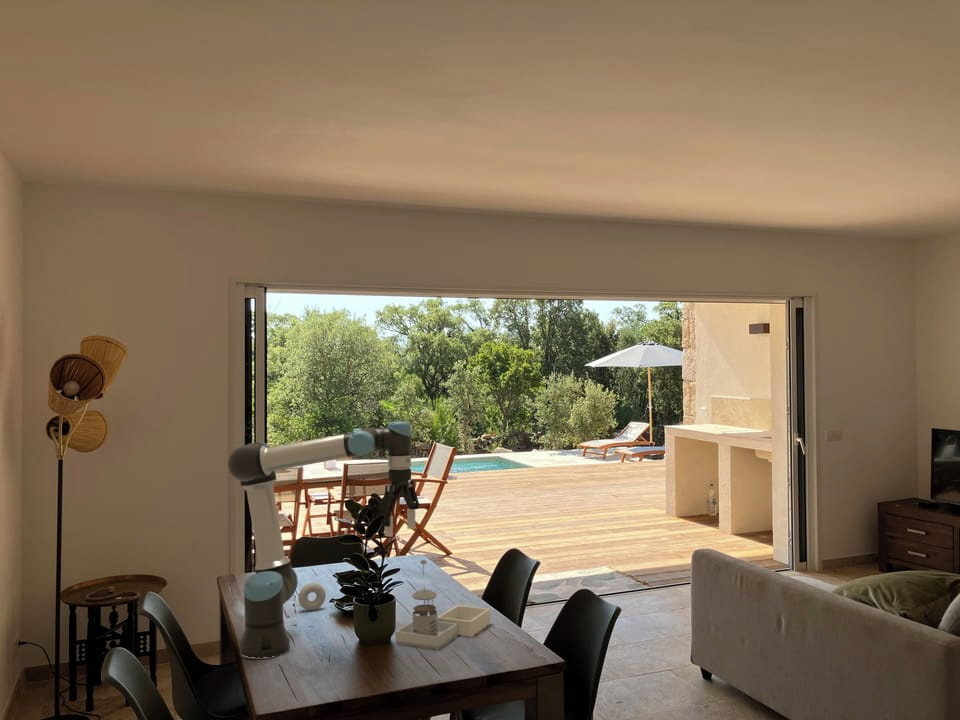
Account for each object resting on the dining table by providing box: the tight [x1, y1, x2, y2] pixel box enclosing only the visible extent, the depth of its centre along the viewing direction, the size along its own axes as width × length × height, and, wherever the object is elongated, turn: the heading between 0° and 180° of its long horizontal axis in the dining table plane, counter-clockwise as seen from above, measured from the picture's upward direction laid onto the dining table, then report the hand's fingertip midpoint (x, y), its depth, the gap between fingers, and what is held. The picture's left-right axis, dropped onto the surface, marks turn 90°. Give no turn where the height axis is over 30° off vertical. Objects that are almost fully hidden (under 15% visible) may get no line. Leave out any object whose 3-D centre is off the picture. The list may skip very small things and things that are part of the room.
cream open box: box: [437, 604, 491, 638], centre depth 255 cm, size 15×13×5 cm
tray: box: [394, 620, 458, 651], centre depth 245 cm, size 14×15×4 cm
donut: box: [297, 582, 326, 611], centre depth 281 cm, size 10×4×10 cm, turn 114°
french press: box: [411, 559, 438, 636], centre depth 245 cm, size 10×12×25 cm
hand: (400, 532), depth 252 cm, fingers open, 13 cm apart
